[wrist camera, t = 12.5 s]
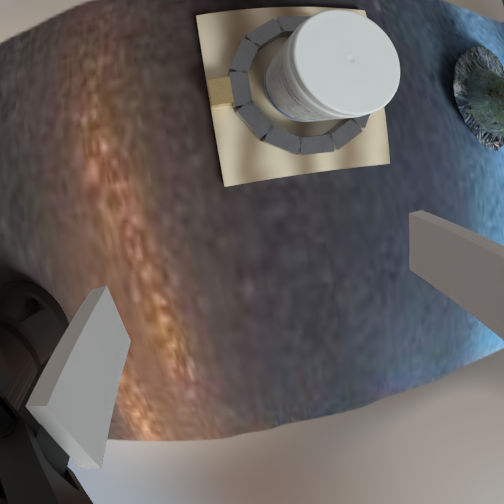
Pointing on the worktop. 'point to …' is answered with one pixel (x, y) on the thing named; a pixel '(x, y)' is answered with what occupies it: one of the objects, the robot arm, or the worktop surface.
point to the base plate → (237, 133)
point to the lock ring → (239, 95)
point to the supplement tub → (333, 69)
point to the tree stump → (481, 95)
